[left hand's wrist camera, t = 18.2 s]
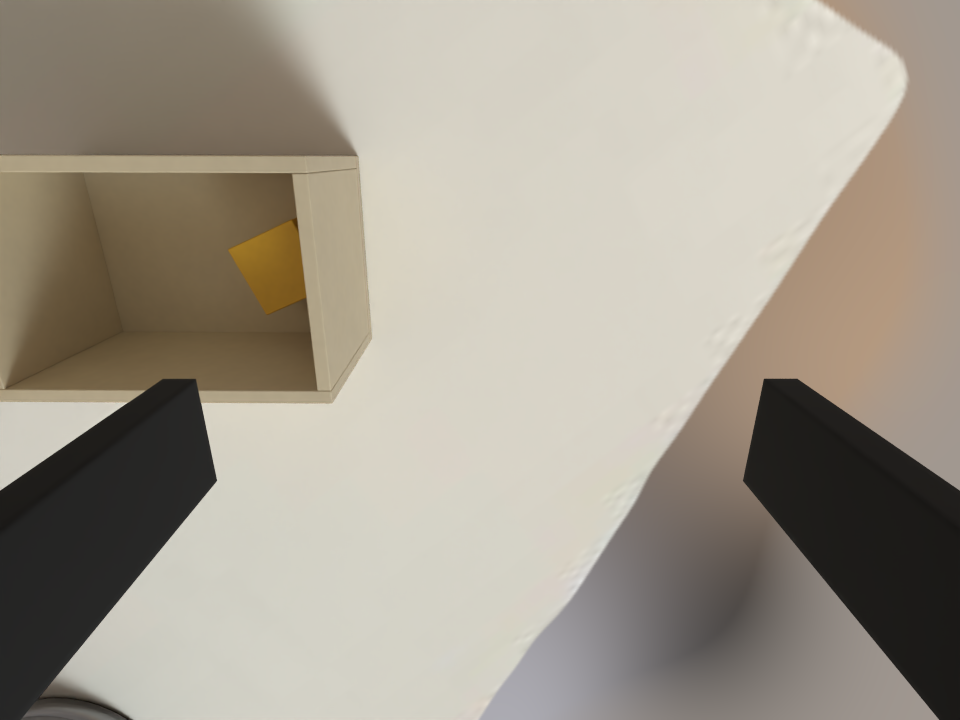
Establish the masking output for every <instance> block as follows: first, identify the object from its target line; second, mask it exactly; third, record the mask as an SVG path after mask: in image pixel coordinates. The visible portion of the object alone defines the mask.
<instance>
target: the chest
mask: <svg viewBox="0 0 960 720" xmlns="http://www.w3.org/2000/svg"><path fill="white" fill-rule="evenodd" d="M294 218H297V222H298V230H299V239H300V247H301V256H302V264H303V273H304V281H305V290H306V298H305V299H303V300H301V301H298V302H296V303H294V304H292V305H289V306H287V307H285V308H283V309H280V310H278V311H276V312H274V313H271V314H269V315H266V313H265V312H264V310H263V308H262V307H261V305H260V303H259V302H258V300H257V298H256V296H255V295H254V293H253V291H252V290H251V288H250V286H249V285H248V283H247V281H246V280H245V278H244V276H243V275H242V273H241V271H240V270H239V268H238V266H237V265H236V263H235V261H234V260H233V258H232V256H231V255H230V253H229V251H228V249H229V248H231V247H234V246H236V245H238V244H240V243H242V242H244V241H246V240H248V239H251V238H253V237H255V236H257V235H259V234H261V233H263V232H265V231H268V230H270V229H272V228H274V227H276V226H278V225H280V224H282V223H285V222H287V221H289V220H291V219H294ZM371 339H372V335H371V321H370V308H369V295H368V281H367V268H366V255H365V241H364V228H363V214H362V201H361V188H360V174H359V161H358V156H325V155H0V402H130V401H131V400H133V399H134V398H136V397H137V396H139V395H140V394H141V393H143V392H144V391H146V390H147V389H149V388H150V387H152V386H153V385H155V384H156V383H157V382H159V381H160V380H162V379H196V381H197V386H198V391H199V396H200V401H201V403H333V402H334V400H335V398H336V397H337V395H338V393H339V392H340V390H341V388H342V387H343V385H344V384H345V382H346V380H347V379H348V377H349V375H350V374H351V372H352V371H353V369H354V367H355V366H356V364H357V362H358V361H359V359H360V357H361V356H362V354H363V353H364V351H365V349H366V348H367V346H368V344H369V343H370V341H371Z"/></svg>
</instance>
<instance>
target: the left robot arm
mask: <svg viewBox="0 0 960 720" xmlns="http://www.w3.org/2000/svg"><path fill="white" fill-rule="evenodd" d="M216 481H217V479H216V474H215V469H214V464H213V459H212V454H211V449H210V445H209V440H208V435H207V430H206V425H205V420H204V415H203V411H202V406H201V401H200V396H199V391H198V386H197V381H196V379H162V380H160V381H159V382H157V383H156V384H155V385H153V386H152V387H150V388H149V389H147V390H146V391H144V392H143V393H141V394H140V395H139V396H137V397H136V398H134V399H133V400H131V401H130V402H128V403H127V404H126V405H124V406H123V407H121V408H120V409H118V410H117V411H115V412H114V413H112V414H111V415H110V416H108V417H107V418H105V419H104V420H102V421H101V422H99V423H98V424H96V425H95V426H94V427H92V428H91V429H89V430H88V431H86V432H85V433H83V434H82V435H80V436H79V437H78V438H76V439H75V440H73V441H72V442H70V443H69V444H67V445H66V446H64V447H63V448H62V449H60V450H59V451H57V452H56V453H54V454H53V455H51V456H50V457H48V458H47V459H46V460H44V461H43V462H41V463H40V464H38V465H37V466H35V467H34V468H33V469H31V470H30V471H28V472H27V473H25V474H24V475H22V476H21V477H19V478H18V479H17V480H15V481H14V482H12V483H11V484H9V485H8V486H6V487H5V488H3V489H2V490H1V491H0V720H127V719H125V718H124V717H122V716H120V715H119V714H117V713H115V712H113V711H111V710H108V709H106V708H103V707H101V706H98V705H95V704H92V703H88V702H84V701H79V700H73V699H62V698H49V699H40V700H37V699H38V698H39V697H40V696H41V694H42V693H43V692H44V691H45V690H46V688H47V687H48V686H49V685H50V683H51V682H52V681H53V680H54V679H55V677H56V676H57V675H58V674H59V673H60V671H61V670H62V669H63V668H64V666H65V665H66V664H67V663H68V662H69V660H70V659H71V658H72V657H73V655H74V654H75V653H76V652H77V651H78V649H79V648H80V647H81V646H82V645H83V643H84V642H85V641H86V640H87V638H88V637H89V636H90V635H91V634H92V632H93V631H94V630H95V629H96V627H97V626H98V625H99V624H100V623H101V621H102V620H103V619H104V618H105V617H106V615H107V614H108V613H109V612H110V610H111V609H112V608H113V607H114V606H115V604H116V603H117V602H118V601H119V599H120V598H121V597H122V596H123V595H124V593H125V592H126V591H127V590H128V589H129V587H130V586H131V585H132V584H133V582H134V581H135V580H136V579H137V578H138V576H139V575H140V574H141V573H142V571H143V570H144V569H145V568H146V567H147V565H148V564H149V563H150V562H151V561H152V559H153V558H154V557H155V556H156V554H157V553H158V552H159V551H160V550H161V548H162V547H163V546H164V545H165V543H166V542H167V541H168V540H169V539H170V537H171V536H172V535H173V534H174V533H175V531H176V530H177V529H178V528H179V526H180V525H181V524H182V523H183V522H184V520H185V519H186V518H187V517H188V515H189V514H190V513H191V512H192V511H193V509H194V508H195V507H196V506H197V505H198V503H199V502H200V501H201V500H202V498H203V497H204V496H205V495H206V494H207V492H208V491H209V490H210V489H211V487H212V486H213V485H214V484H215V483H216ZM743 481H744V483H745V484H746V485H747V486H748V487H749V489H750V490H751V491H752V492H753V493H754V495H755V496H756V497H757V498H758V500H759V501H760V502H761V503H762V504H763V506H764V507H765V508H766V509H767V511H768V512H769V513H770V514H771V515H772V517H773V518H774V519H775V520H776V522H777V523H778V524H779V525H780V526H781V528H782V529H783V530H784V531H785V533H786V534H787V535H788V536H789V537H790V539H791V540H792V541H793V542H794V543H795V545H796V546H797V547H798V548H799V550H800V551H801V552H802V553H803V554H804V556H805V557H806V558H807V559H808V561H809V562H810V563H811V564H812V565H813V567H814V568H815V569H816V570H817V571H818V573H819V574H820V575H821V576H822V578H823V579H824V580H825V581H826V582H827V584H828V585H829V586H830V587H831V589H832V590H833V591H834V592H835V593H836V595H837V596H838V597H839V598H840V599H841V601H842V602H843V603H844V604H845V606H846V607H847V608H848V609H849V610H850V612H851V613H852V614H853V615H854V617H855V618H856V619H857V620H858V621H859V623H860V624H861V625H862V626H863V627H864V629H865V630H866V631H867V632H868V634H869V635H870V636H871V637H872V638H873V640H874V641H875V642H876V643H877V645H878V646H879V647H880V648H881V649H882V651H883V652H884V653H885V654H886V655H887V657H888V658H889V659H890V660H891V661H892V663H893V664H894V665H895V666H896V668H897V669H898V670H899V671H900V673H901V674H902V675H903V676H904V677H905V679H906V680H907V681H908V682H909V683H910V685H911V686H912V687H913V688H914V690H915V691H916V692H917V693H918V694H919V696H920V697H921V698H922V699H923V700H924V702H925V703H926V704H927V705H928V707H929V708H930V709H931V710H932V711H933V713H934V714H935V715H936V716H937V717H938V719H939V720H960V491H959V490H958V489H957V488H955V487H954V486H952V485H951V484H949V483H948V482H946V481H945V480H943V479H942V478H941V477H939V476H938V475H936V474H935V473H933V472H932V471H930V470H929V469H927V468H926V467H925V466H923V465H922V464H920V463H919V462H917V461H916V460H914V459H913V458H911V457H910V456H909V455H907V454H906V453H904V452H903V451H901V450H900V449H898V448H897V447H895V446H894V445H893V444H891V443H890V442H888V441H887V440H885V439H884V438H882V437H881V436H880V435H878V434H877V433H875V432H874V431H872V430H871V429H869V428H868V427H866V426H865V425H864V424H862V423H861V422H859V421H858V420H856V419H855V418H853V417H852V416H850V415H849V414H848V413H846V412H845V411H843V410H842V409H840V408H839V407H837V406H836V405H834V404H833V403H832V402H830V401H829V400H827V399H826V398H824V397H823V396H821V395H820V394H818V393H817V392H816V391H814V390H813V389H811V388H810V387H808V386H807V385H805V384H804V383H803V382H801V381H800V380H798V379H764V381H763V386H762V391H761V396H760V401H759V406H758V411H757V416H756V420H755V425H754V430H753V435H752V440H751V445H750V449H749V454H748V459H747V464H746V469H745V474H744V479H743Z"/></svg>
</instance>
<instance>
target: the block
mask: <svg viewBox="0 0 960 720" xmlns="http://www.w3.org/2000/svg"><path fill="white" fill-rule="evenodd" d="M228 251H229V253H230V255H231V256H232V258H233V260H234V261H235V263H236V265H237V266H238V268H239V270H240V271H241V273H242V275H243V276H244V278H245V280H246V281H247V283H248V285H249V286H250V288H251V290H252V291H253V293H254V295H255V296H256V298H257V300H258V302H259V303H260V305H261V307H262V308H263V310H264V312H265V313H266V315H269V314H271V313H274V312H276V311H278V310H280V309H283V308H285V307H287V306H289V305H292V304H294V303H296V302H298V301H301V300H303V299H305V298H306V290H305V281H304V273H303V264H302V256H301V247H300V239H299V230H298V222H297V218H294V219H291V220H289V221H287V222H285V223H282V224H280V225H278V226H276V227H274V228H272V229H270V230H268V231H265V232H263V233H261V234H259V235H257V236H255V237H253V238H251V239H248V240H246V241H244V242H242V243H240V244H238V245H236V246H234V247H231V248H229V249H228Z"/></svg>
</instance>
